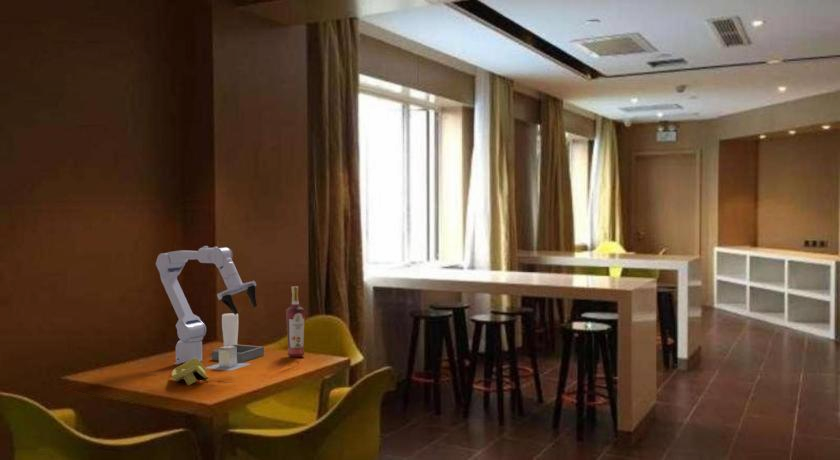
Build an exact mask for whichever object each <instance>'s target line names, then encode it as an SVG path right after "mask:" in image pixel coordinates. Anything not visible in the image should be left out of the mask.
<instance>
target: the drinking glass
mask: <svg viewBox="0 0 840 460" xmlns="http://www.w3.org/2000/svg"><path fill="white" fill-rule="evenodd" d="M239 323H240V322H239V313H237V314H236V315H235V314H234V313H233V312H232V313H223V314H222V315H221V329H222V339H223V346H231V345H238V336H239Z"/></svg>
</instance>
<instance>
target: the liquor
mask: <svg viewBox="0 0 840 460" xmlns="http://www.w3.org/2000/svg"><path fill="white" fill-rule="evenodd" d="M291 294H292V295H291V304H290V305H291V306H290V307H288V308H286V309H285V319H286V320H285V321H286V331H287V351H288V352H287V354H286V355H287V356H288V358H290V359H301V358H302V357H303V356H304V355H305V351H304V347H305V346H304V344H305V343H304V341H305V340H304V339H305V313H306V312H305V310H306V309H305V308H303V307H302V306H300V301H299V286H291Z"/></svg>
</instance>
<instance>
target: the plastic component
mask: <svg viewBox="0 0 840 460" xmlns="http://www.w3.org/2000/svg"><path fill="white" fill-rule="evenodd" d="M206 371H208V369H207V368H206V367H205V366H204V365H203V363H201V361H199V360H198V359H197V358H194V359H192V360H190V361H188V362H183V364H181V365H179V366H177V367H175V368H174V369H173V370H172V372H171V377H172V378H173V379H174V381H175V382H179V381H180V380H183V379H184V381H185V383H186V385H187V386H190V385H192V384H194V383H195V382H197V381H198V379H197V378H196V375H195V374H194V373H198V374H199V376H201V377H202V378H203V379H208V378H209V375H207V374H206Z"/></svg>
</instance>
